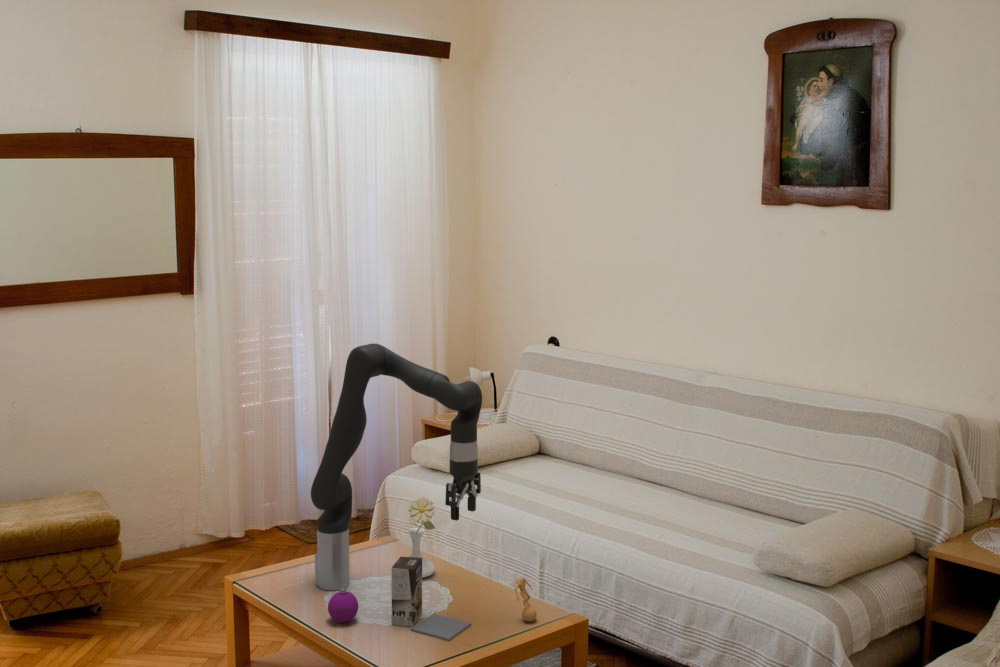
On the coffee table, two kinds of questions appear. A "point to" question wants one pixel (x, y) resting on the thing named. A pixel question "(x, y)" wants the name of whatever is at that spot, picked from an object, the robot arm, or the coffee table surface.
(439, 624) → the slate mat
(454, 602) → the coffee table surface
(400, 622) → the coffee box
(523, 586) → the figurine
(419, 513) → the flower in vase
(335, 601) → the christmas ornament
